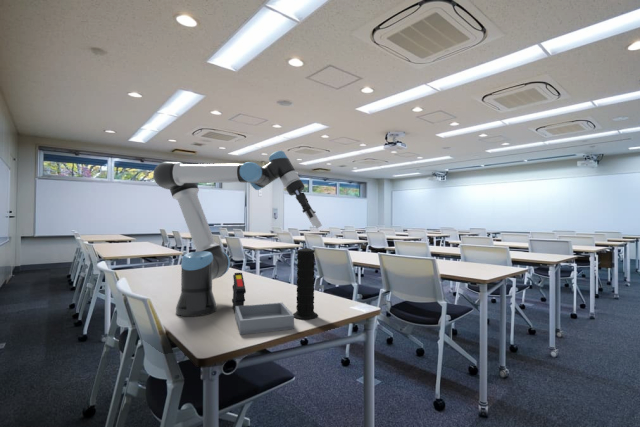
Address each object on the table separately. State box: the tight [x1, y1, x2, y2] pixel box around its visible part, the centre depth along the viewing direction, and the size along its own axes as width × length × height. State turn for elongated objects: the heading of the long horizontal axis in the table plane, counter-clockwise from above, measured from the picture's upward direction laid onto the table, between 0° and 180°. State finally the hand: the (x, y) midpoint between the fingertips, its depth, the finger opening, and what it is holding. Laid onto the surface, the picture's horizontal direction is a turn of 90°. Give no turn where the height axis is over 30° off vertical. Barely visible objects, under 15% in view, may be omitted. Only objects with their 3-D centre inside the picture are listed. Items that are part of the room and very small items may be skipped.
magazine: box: [231, 272, 247, 312], centre depth 130 cm, size 4×13×15 cm, turn 21°
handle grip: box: [292, 247, 319, 321], centre depth 124 cm, size 10×26×10 cm
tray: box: [234, 302, 295, 335], centre depth 114 cm, size 18×18×4 cm
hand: (317, 226), depth 134 cm, fingers open, 13 cm apart
